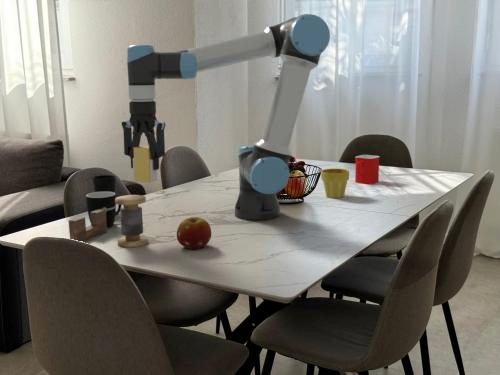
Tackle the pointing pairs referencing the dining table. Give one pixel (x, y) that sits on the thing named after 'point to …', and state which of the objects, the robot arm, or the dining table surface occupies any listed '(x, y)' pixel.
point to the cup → (104, 183)
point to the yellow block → (142, 163)
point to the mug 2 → (367, 169)
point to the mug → (103, 205)
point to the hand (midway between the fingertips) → (145, 179)
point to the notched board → (86, 233)
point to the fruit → (194, 233)
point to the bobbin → (131, 221)
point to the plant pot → (335, 182)
